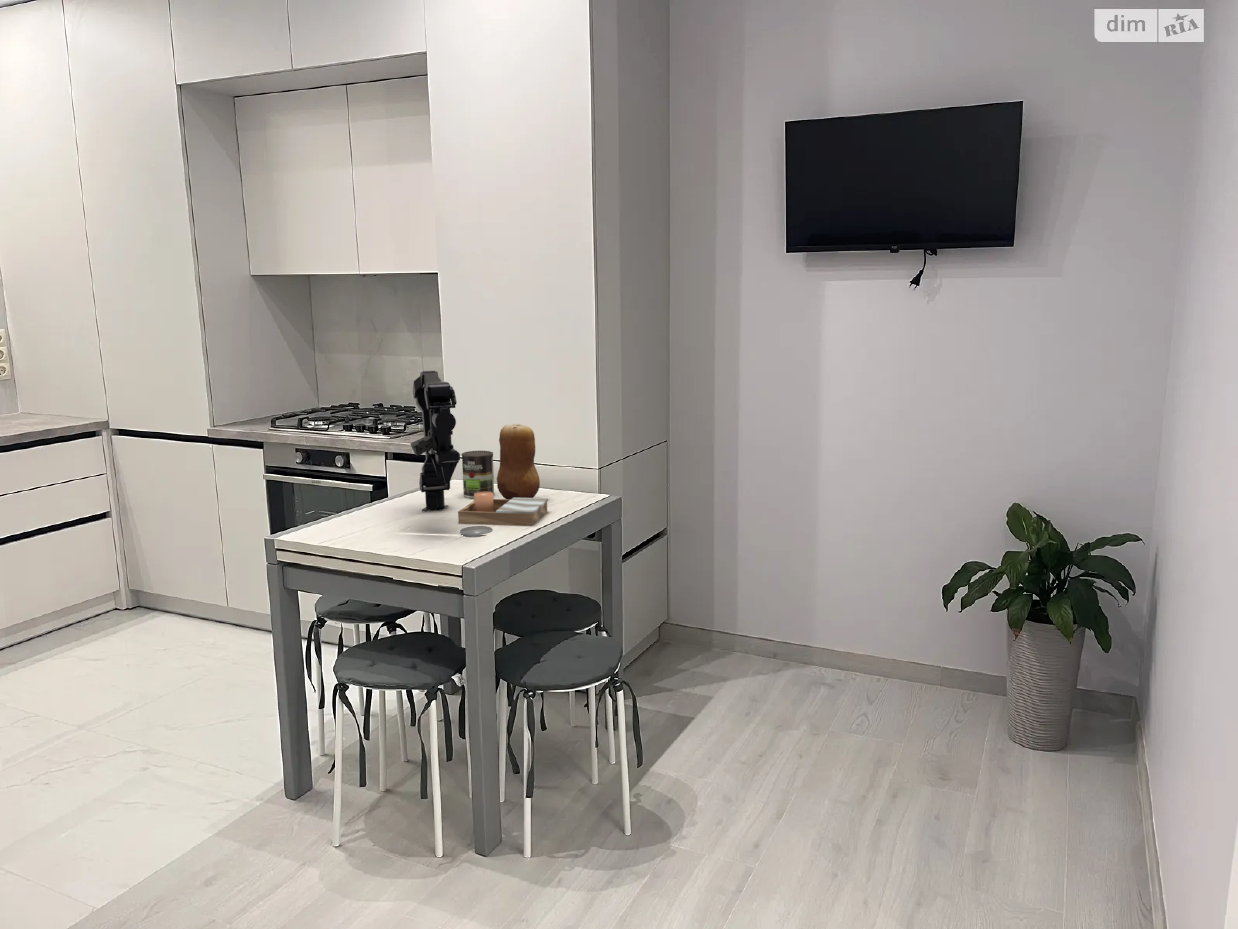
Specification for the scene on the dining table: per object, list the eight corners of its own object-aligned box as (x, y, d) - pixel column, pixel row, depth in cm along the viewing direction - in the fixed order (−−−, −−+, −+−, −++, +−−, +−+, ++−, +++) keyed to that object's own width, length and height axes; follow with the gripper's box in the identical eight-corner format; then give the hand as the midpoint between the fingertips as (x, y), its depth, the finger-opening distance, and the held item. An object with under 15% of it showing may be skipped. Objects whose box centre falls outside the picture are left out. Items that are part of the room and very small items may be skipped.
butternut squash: (546, 498, 307) (543, 421, 303) (532, 507, 295) (529, 428, 290) (506, 496, 311) (502, 420, 306) (490, 505, 298) (487, 427, 293)
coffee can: (487, 499, 307) (485, 456, 304) (458, 497, 310) (456, 455, 307) (500, 492, 317) (498, 450, 314) (471, 491, 320) (469, 449, 317)
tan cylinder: (478, 513, 285) (477, 491, 284) (496, 514, 284) (495, 491, 283) (472, 518, 280) (471, 495, 279) (490, 519, 279) (489, 495, 278)
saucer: (466, 528, 271) (466, 525, 271) (496, 529, 270) (496, 526, 270) (455, 536, 263) (455, 533, 263) (486, 537, 261) (486, 534, 261)
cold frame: (478, 511, 291) (477, 496, 290) (548, 513, 287) (548, 498, 286) (458, 525, 275) (457, 509, 274) (533, 527, 271) (533, 511, 270)
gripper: (405, 424, 275) (408, 477, 278) (419, 434, 258) (422, 490, 261) (443, 421, 279) (446, 473, 282) (459, 431, 262) (461, 486, 266)
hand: (443, 480), depth 273 cm, fingers open, 9 cm apart
